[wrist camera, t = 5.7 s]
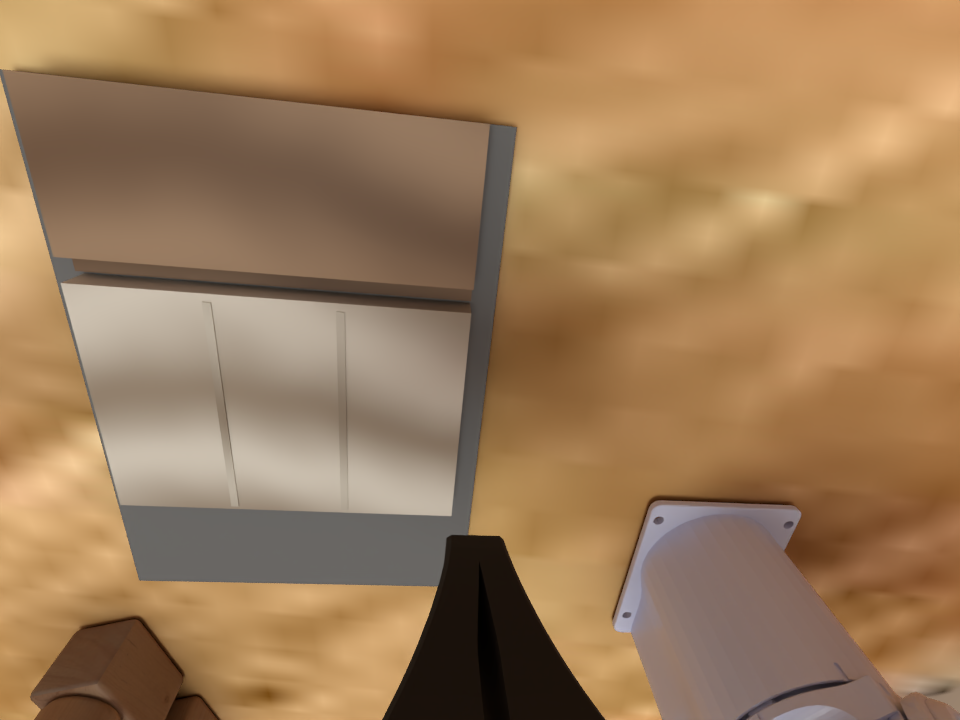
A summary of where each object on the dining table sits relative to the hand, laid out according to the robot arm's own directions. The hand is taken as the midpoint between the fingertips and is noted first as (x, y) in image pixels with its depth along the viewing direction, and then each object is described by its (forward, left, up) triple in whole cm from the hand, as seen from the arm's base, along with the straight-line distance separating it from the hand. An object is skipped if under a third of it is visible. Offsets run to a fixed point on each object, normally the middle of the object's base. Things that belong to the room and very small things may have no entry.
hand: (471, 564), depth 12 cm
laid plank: (+7, +7, -10) cm, 14 cm away
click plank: (-1, +7, -9) cm, 12 cm away
